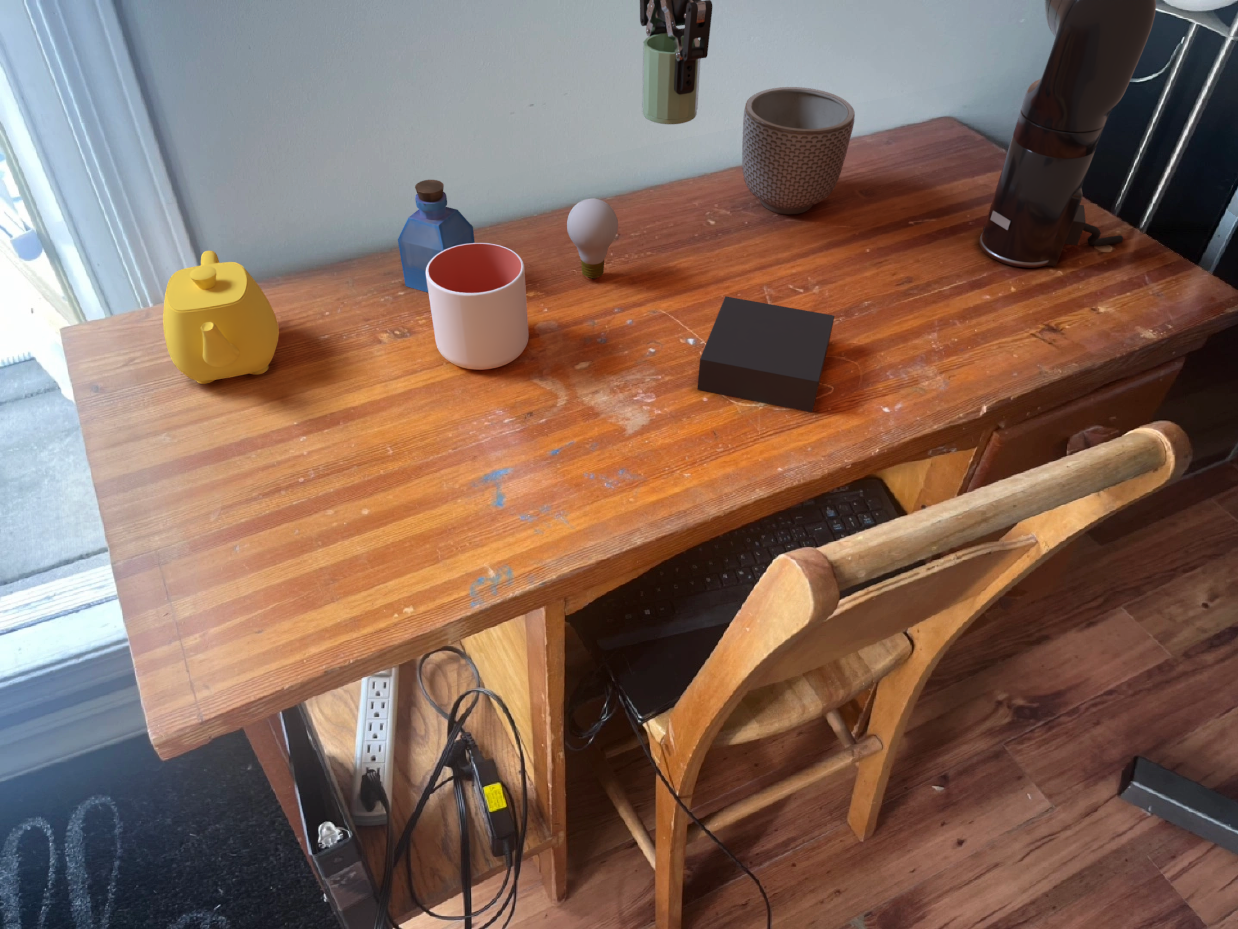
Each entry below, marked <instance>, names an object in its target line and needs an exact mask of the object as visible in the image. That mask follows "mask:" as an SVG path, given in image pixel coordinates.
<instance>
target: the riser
mask: <svg viewBox="0 0 1238 929" xmlns="http://www.w3.org/2000/svg"><path fill="white" fill-rule="evenodd" d="M834 320H835V315H833V314H827V313H823V312H822V313H821V312H816V311H810V310H806V309H800V308H794V307H788V306H783V305H782V306H781V305H778V304H771V303H766V302H760V301H754V300H749V299H745V298H743V299H742V298H737V297H732V296H725V297H724V299H723V301H722V303H721V306H720V309H719V312H718V314H717V316H716V317H715V321H714V323H713V326H712V329H711V331H710V333H709V336H708V339H707V341H706V342H705V345H704V348H703V351H702V353H701V356H700V358H699V364H698V365H699V368H698V378H697V391H703V392H707V393H713V394H716V395H723V396H727V397H732V398H737V399H743V400H748V401H753V402H756V403H757V402H758V403H763V404H768V405H773V406H777V407H782V408H788V409H793V410H798V411H802V412H808V413H813V412H814V407H815V403H816V399H817V395H818V391H819V387H820V383H821V378H822V374H823V370H824V367H825V362H826V358H827V354H828V349H829V346H830V342H831V337H832V336H831V335H832V330H833V326H834V322H835V321H834Z"/></svg>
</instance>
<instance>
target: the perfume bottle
mask: <svg viewBox="0 0 1238 929" xmlns="http://www.w3.org/2000/svg"><path fill="white" fill-rule="evenodd" d="M444 186H445V184H444V182H442V181H441V180H438V179H425V180H424V179H423V180H421V181H419V182H417V183H416V184H415V185H414V188H415V191H416V194H415V197H414V201H415V206H416V208H417V210H416V211H415V212H413V213H412V214H411V215H409V216H408V217H407V219H406V221H405V224H404V225H403V228H402V230H401V232H400V233H399V236H398V238H397V244H398V249H399V257H400V261H401V268H402V273H403V274H402V275H403V279H404V286H405V287H407V288H411V289H413V290H417V291H421V292H424V293H428V286H427V279H426V267H427V265H428V263H429V262H430V260H431V259H432V258H433V257H434V256H436V255H437V254H438V253H440V252H442V251H444V250H446V249H448V248H451V247H454V246H458V245H462V244H469V243H476V241H475V232H474V226H473V225H472V224H471V223H470V222H469V220H467V218H466V217H465V216H464V214H462V213H461V212H460V211H459V209H457V208H453V207H448V197H447V193H446V192H445V191H444Z"/></svg>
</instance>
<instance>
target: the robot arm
mask: <svg viewBox="0 0 1238 929" xmlns="http://www.w3.org/2000/svg"><path fill="white" fill-rule="evenodd" d="M1156 9H1157V0H1044V13H1045V18H1046V23H1047V26H1048V28H1049V30H1050V32H1051V33H1052V35H1053V37H1054V41H1053V44H1052V47H1051V50H1050V53H1049V55H1048V58H1047V61H1046V64H1045V68H1044V70H1043V73H1042V75H1041V77H1040V78H1038V79H1037V80H1035V81H1034V82H1032V83H1031V84H1030V85H1029V86H1028V88H1027V89H1026V92H1025V95H1024V98H1023V102H1022V105H1021V107H1020V111H1019V114H1018V117H1017V121H1016V124H1015V127H1014V130H1013V133H1012V137H1011V140H1010V142H1009V146H1008V150H1007V152H1006V156H1005V159H1004V162H1003V166H1002V168H1001V172H1000V175H999V178H998V182H997V185H996V188H995V191H994V193H993V197H992V201H991V205H990V208H989V210H988V213H987V217H986V220H985V223H984V226H983V230H982V232H981V234H980V237H979V239H978V240H979V241H978V244H979V248H980V249H981V250H982V252H983V253H984V254H986V256H988V257H990V258H991V259H993V260H995V261H997V262H999V263H1001V264H1005V265H1008V266H1011V267H1016V268H1025V269H1026V268H1027V269H1033V268H1035V269H1036V268H1042V267H1045V266H1048V267H1049V266H1050V267H1056V266H1057V265H1058V263H1059V260H1060V257H1061V255H1062V252H1063V249H1064V247H1065V245H1071V246H1078V244H1079V242H1080V239H1081V237H1082V234H1083V232H1086V233H1089V234H1090V235H1089V236H1088V237H1087V239H1086V240H1087V243H1088V245H1091V246H1093V247H1098V246H1100V247H1101V246H1108V245H1113V244H1121V243H1122V242H1123V241H1124V237H1123V235H1122V234H1119V235H1113V236H1107V237H1106V236H1105V237H1101V233H1102V232H1101V230H1100V229H1099V228H1098V227H1097V226H1095V225H1091V224H1090V223H1087V221H1086V214H1085V213H1086V211H1085V205H1084V204H1081V202H1082V199H1083V195H1084V194H1083V186H1084V185H1083V184H1084V182H1085V179H1086V177H1087V174H1088V171H1089V169H1090V166H1091V163H1092V161H1093V158H1094V155H1095V152H1096V150H1097V147H1098V144H1099V142H1100V139H1101V137H1102V135H1103V131H1104V128H1105V127H1106V124H1107V122H1108V119H1109V116H1110V114H1111V112H1112V111H1113V109H1115V107H1116V106H1117V105H1118V104H1119V103H1120V102H1121V100H1122V98H1123V97H1124V95H1125V94H1126V91H1127V89H1128V86H1129V84H1130V82H1131V80H1132V78H1133V75H1134V73H1135V70H1136V67H1137V66H1138V64H1139V61H1140V59H1141V56H1142V54H1143V52H1144V50H1145V46H1146V45H1147V42H1148V39H1149V36H1150V34H1151V32H1152V28H1153V25H1154V22H1155V18H1156V11H1157V10H1156ZM712 16H713V2H712V0H639V23H640V26H642V27H645V32H646V36H647V38H648V37H650V36H652V35H656V34H662V33H668V37H669V38H670V39H672V40H673V43H674V50H675V57H676V59H675V75H674V91H675V92H676V93H677V94H679V95H681V94H687V93H691V92H693V90H694V84H695V67H696V60H697V59H700V60H701V59H706V58H708V53H709V45H710V44H709V43H710V35H711V26H712ZM682 26H684V27H683V28H678V27H682ZM682 37H684V42H683V47H682V40H681V38H682ZM698 40H700V45H699V42H698Z"/></svg>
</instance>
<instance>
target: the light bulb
mask: <svg viewBox="0 0 1238 929" xmlns="http://www.w3.org/2000/svg"><path fill="white" fill-rule="evenodd" d="M571 208H572V209H571V210H570V211H569V214H568V216H567V221H566V229H567V234H568V237H569V238H570V240H571V242H572V243H573V245H574V246H575V247H576V249H577V252H578V256H579V258H580V264H581V274H582V275H583V276H584V277H586V278H588V279H589V280H596V279H597V278H599V277H602V276H603V275H604V272H605V259H606V258H607V257H606V256H607V255H608V250H609V247H610V246H611V245H612V243H613V242H614V240H615V239H616V237H617V234H618V231H619V221H618V216H617V214H616V212H615V210H614V209H613V207H612V206H611V205H610V204H609V203H607V202H606V201H604V200H602V199H600V198H585V199H582V200H580V201H579V202H578V203H576V204H575V205H574V206H573V207H571Z"/></svg>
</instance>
